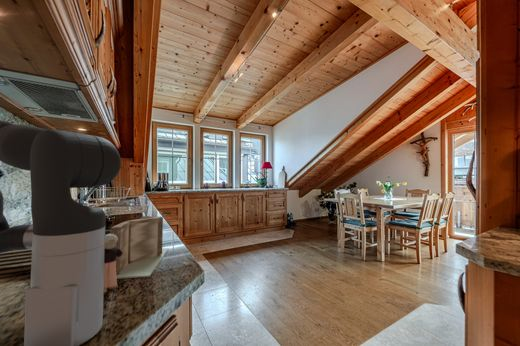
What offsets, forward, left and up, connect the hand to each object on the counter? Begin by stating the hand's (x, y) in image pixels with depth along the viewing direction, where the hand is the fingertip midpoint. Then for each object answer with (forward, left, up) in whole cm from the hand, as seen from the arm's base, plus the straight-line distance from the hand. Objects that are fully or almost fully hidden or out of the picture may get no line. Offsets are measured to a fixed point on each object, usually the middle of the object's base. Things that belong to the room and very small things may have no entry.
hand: (112, 233), depth 71 cm
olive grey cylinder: (+14, -6, -8) cm, 17 cm away
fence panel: (-3, -10, -7) cm, 13 cm away
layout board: (-4, -10, -8) cm, 13 cm away
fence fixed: (-11, -7, -8) cm, 15 cm away
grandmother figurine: (-20, -8, -8) cm, 23 cm away
